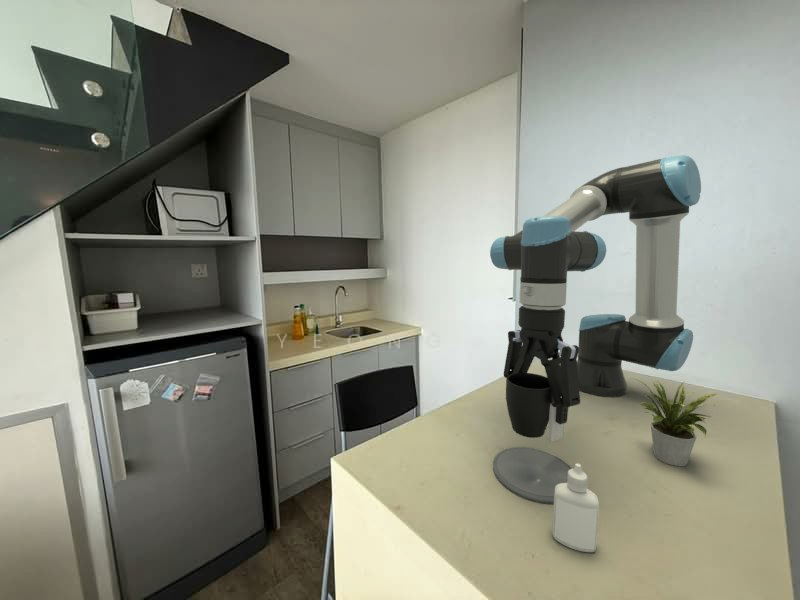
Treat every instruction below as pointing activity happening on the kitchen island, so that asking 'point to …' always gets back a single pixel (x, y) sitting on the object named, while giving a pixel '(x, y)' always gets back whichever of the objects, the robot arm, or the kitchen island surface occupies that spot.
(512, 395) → the mug
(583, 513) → the eye dropper bottle
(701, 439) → the kitchen island surface
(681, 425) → the house plant
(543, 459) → the round gray plate
